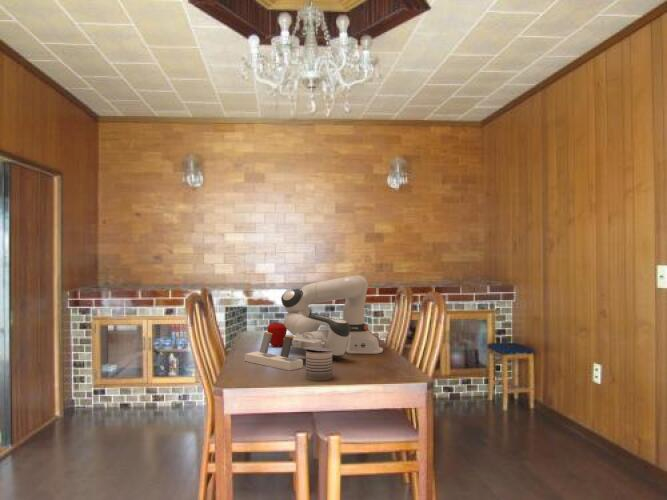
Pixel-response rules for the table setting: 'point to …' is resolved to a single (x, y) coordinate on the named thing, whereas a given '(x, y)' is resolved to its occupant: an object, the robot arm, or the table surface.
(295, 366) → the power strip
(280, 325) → the red rounded lump
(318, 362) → the can
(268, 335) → the grey rocker
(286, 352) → the black rocker
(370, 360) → the table surface
